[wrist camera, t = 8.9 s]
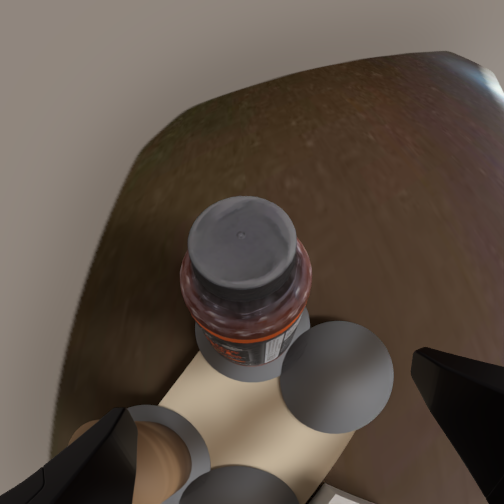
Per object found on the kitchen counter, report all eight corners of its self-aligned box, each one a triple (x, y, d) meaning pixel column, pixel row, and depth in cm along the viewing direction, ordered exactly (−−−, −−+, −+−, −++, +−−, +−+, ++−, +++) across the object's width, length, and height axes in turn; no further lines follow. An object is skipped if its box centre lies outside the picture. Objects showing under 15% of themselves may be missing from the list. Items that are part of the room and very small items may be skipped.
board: (403, 356, 20) (453, 327, 14) (256, 569, 12) (252, 619, 6) (239, 263, 25) (230, 206, 18) (90, 456, 16) (31, 459, 10)
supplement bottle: (191, 334, 20) (127, 249, 11) (243, 273, 23) (228, 156, 13) (260, 386, 18) (257, 351, 9) (311, 317, 21) (351, 219, 11)
